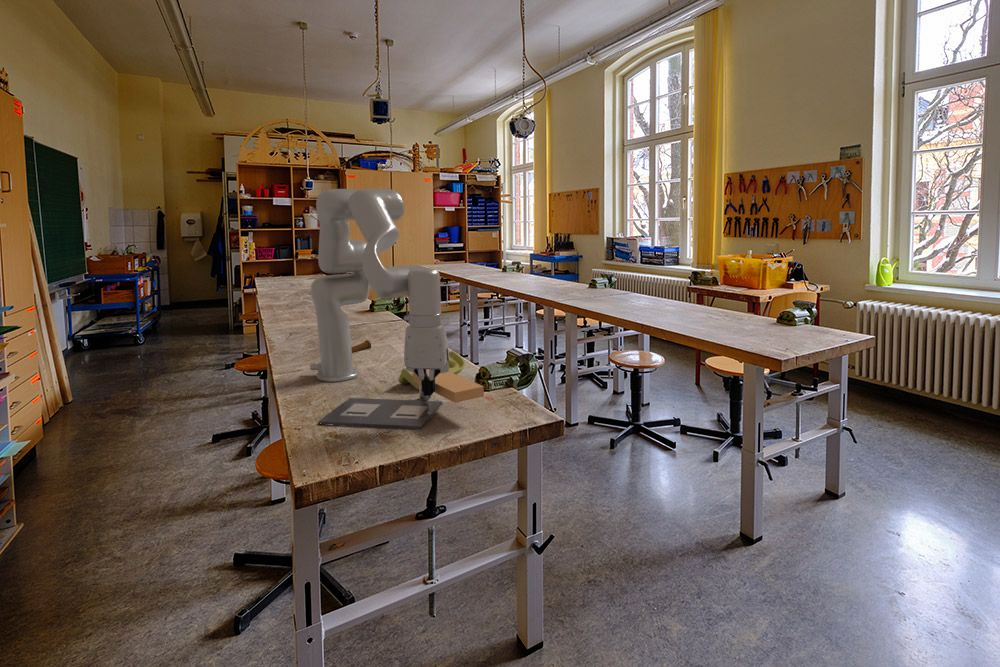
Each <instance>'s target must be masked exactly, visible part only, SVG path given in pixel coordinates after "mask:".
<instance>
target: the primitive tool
mask: <svg viewBox="0 0 1000 667" xmlns="http://www.w3.org/2000/svg"><path fill="white" fill-rule="evenodd" d="M351 348H352V354H354V352H355V353H358V352H360V350H361V351H363V350H368V349H369V348H371V349H372V343H371V342H370V341H369V340H368V339H367V340H364V342H362V343H360V344H357V345H353V346H351ZM369 350H370V349H369ZM357 351H358V352H357Z"/></svg>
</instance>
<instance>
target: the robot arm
mask: <svg viewBox="0 0 1000 667" xmlns="http://www.w3.org/2000/svg"><path fill="white" fill-rule="evenodd" d="M315 205H316V209H315V210H316V215H317V218H318V219H317V220H318V222H319V236H318V237H319V239H318V240H319V241H318V255H317V256H318V259H317V260H318V261H317V262H318V268H320V270H321V271H322V272H324V273H326V274H327V275H323V276H319V277H317V278H315V279H314V280H313V281H312V283H311V286H310V293H311V297H312V301H313V305H314V310H315V314H316V322H317V323H316V324H317V326H316V327H317V334H318V336H317V337H318V345H319V346H318V347H319V358H320V362H310V366H309V369H310V370H311V371H317V373H316V379H317V380H318V381H322V382H327V383H328V382H333V383H334V382H342V381H348V380H351V379H352V380H353V379H354V378H356V377H358V376H359V370H358V369H356V368H354V364H353V353H352V348H351V347H352V339H351V338H352V336H351V335H352V334H351V326H350V323H351V322H350V319H349V316H348V315H347V313H346V312H345V311H343V309H342V308H341V307H343V306H347V305H348V306H349V305H356V304H362V303H364V302H366V301H367V300H368V298H369V295H370V290H372V291H373V293H374V294H375V295H376V296H377V297H378V298H380V299H385V300H389V299H397V298H404V297H408V314H407V315H404V316H403V321H404V322H408V325H407V326H406V328H405V335H404V348H403V349H404V350H403V352H404V353H403V361H404V366H405V368H406V370H407V371H410V372H411V373H413V372H414V373H415V374H416V375H417V376H418V377H419V379H420V380H421V385H422V392H424V396H432V395H433V394H434V393H435V377H436V376H437V375H438V374H440V373H445V372H448V371H449V370H450V368H449V364H448V362H449V343H448V336H447V331H446V328H445V325H443V323H442V322H443V321H442V298H441V295H442V294H441V274H440V272H439V270H438V269H435V268H431V267H429V268H428V267H425V266H422V265H418V264H411V265H397V266H386V267H385V266H384V265H383V264H382V262H381V261H380V258H379V257H378V256H379V255H381V254H382V253H384V252H386V251H387V250H389V249H391V248H392V247H393V246H395V244H396V243H397V241H398V240H399V237H400V231H399V229H398V227H397V225H396V224H395V222H397V221H399V220H400V219H402V217H403V216H404V213H405V202H404V200H403V198H402V196H401V195H400V193H398V192H397V191H396V190H394V189H389V188H363V189H362V188H361V189H355V188H354V189H353V188H332V189H331V188H330V189H329V188H328V189H324V190H322V191H321V192H320V193H318V196H317V198H316V203H315ZM348 221H355V224H356V225H357V226H358V229H359V230H360V232H361V233H362V234H361V235H362V236H363V238H364V240H365V241H364V240H360V239H352V240H351V226H350V223H349V222H348ZM328 274H330V275H328ZM426 369H430V370H429V377H428V375H427V370H426Z"/></svg>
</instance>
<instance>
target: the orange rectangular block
mask: <svg viewBox="0 0 1000 667" xmlns="http://www.w3.org/2000/svg"><path fill="white" fill-rule="evenodd" d="M426 370H427V375H428V377H429V370H430V369H426ZM412 373H413V382H415V383H417V384H419V385H421V380H420V379H419V377H418V376H417V375H416V374H415V373H414V372H412ZM421 386H422V385H421ZM484 387H485V386H483V385H481V384H479V383H477V382H475V381H473V380H470V379H468V378H466V377H463V376H460V375H458V374H457V375H456V374H454V373H451V372H449V371H448V372H445V373H440V374H438V375H437V376H436V377H435V392H434V393H435V394H437V395H438V396H440V397H442V398H445V399H446V400H449V401H451V402H453V403H455V404H456V403H461V402H465V401H470V400H474V399H478V398H482V397H485V392H484V391H485V390H484Z"/></svg>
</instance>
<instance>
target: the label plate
mask: <svg viewBox="0 0 1000 667" xmlns="http://www.w3.org/2000/svg"><path fill="white" fill-rule="evenodd" d="M418 392H419V393H418V394H419V400H416V399H415V400H413V399H412V400H411V399H393V398H392V399H390V398H389V399H387V398H362V397H360V398H359V397H349V398H348V399H346V400H345V401H343V402H342V403H341V404H339V405H338V406H337V407H336V408H334V409H333V410H332V411H330V412H329V413H327V414H326V415H325V416H323V417H321V418H320V419H319V420H318V421H317V425H318V424H320V423H321V424H333V425H332V426H338V425H346V426H345V427H358V426H360V427H361V428H363V427H364V428H381V429H382V428H383V429H401V430H402V429H403V430H421V429H422V428H423V429H424V427H425V426H426V425H427V424H428V423H429V422H430V420H431V419H432V418H433V417H434V415H435V414H436V413H437V412H438V411H439V410H440V408H441V407H442V406H443V401H441V400H439V401H438V400H437V401H436V400H431V399H430V398H432V397H431V396H432V395H431V396H424V392H422V386H421V385H419V390H418ZM429 399H430V400H429ZM441 405H442V406H441ZM440 406H441V407H440ZM439 407H440V408H439ZM436 411H437V412H436ZM435 412H436V413H435ZM432 416H433V417H432ZM431 417H432V418H431ZM423 429H422V430H423Z"/></svg>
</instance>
